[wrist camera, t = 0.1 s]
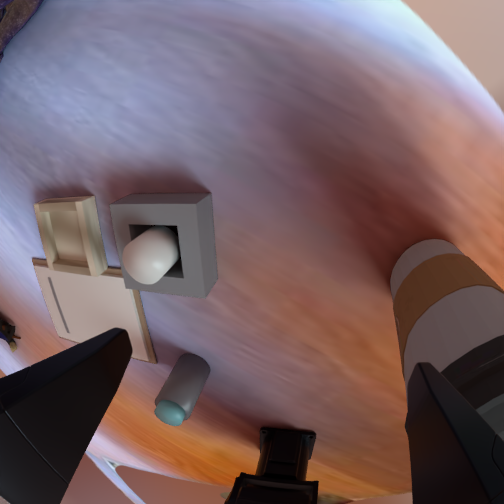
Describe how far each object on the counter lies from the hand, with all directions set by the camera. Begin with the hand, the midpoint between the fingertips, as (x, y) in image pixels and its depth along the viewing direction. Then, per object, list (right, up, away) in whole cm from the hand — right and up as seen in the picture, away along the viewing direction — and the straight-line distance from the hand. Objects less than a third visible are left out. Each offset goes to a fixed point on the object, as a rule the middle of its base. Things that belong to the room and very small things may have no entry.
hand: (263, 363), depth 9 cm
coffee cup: (+13, +2, +13) cm, 18 cm away
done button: (-7, +4, +14) cm, 16 cm away
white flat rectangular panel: (-18, -3, +22) cm, 29 cm away
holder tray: (-17, +5, +18) cm, 26 cm away
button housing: (-7, +4, +16) cm, 18 cm away
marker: (-6, -8, +22) cm, 24 cm away
